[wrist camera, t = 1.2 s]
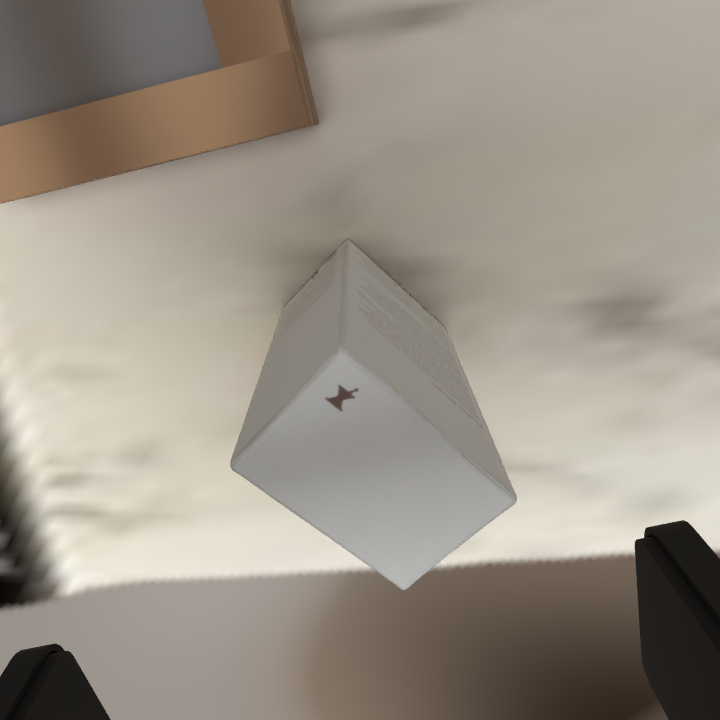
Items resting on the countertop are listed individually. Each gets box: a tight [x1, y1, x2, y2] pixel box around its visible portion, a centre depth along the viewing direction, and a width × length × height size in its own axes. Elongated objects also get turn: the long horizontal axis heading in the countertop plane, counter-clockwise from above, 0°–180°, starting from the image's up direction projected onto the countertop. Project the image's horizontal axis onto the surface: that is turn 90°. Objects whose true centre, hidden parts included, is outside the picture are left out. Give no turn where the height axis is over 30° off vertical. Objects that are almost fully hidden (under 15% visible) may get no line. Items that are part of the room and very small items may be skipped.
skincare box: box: [231, 239, 517, 590], centre depth 19 cm, size 6×4×12 cm
